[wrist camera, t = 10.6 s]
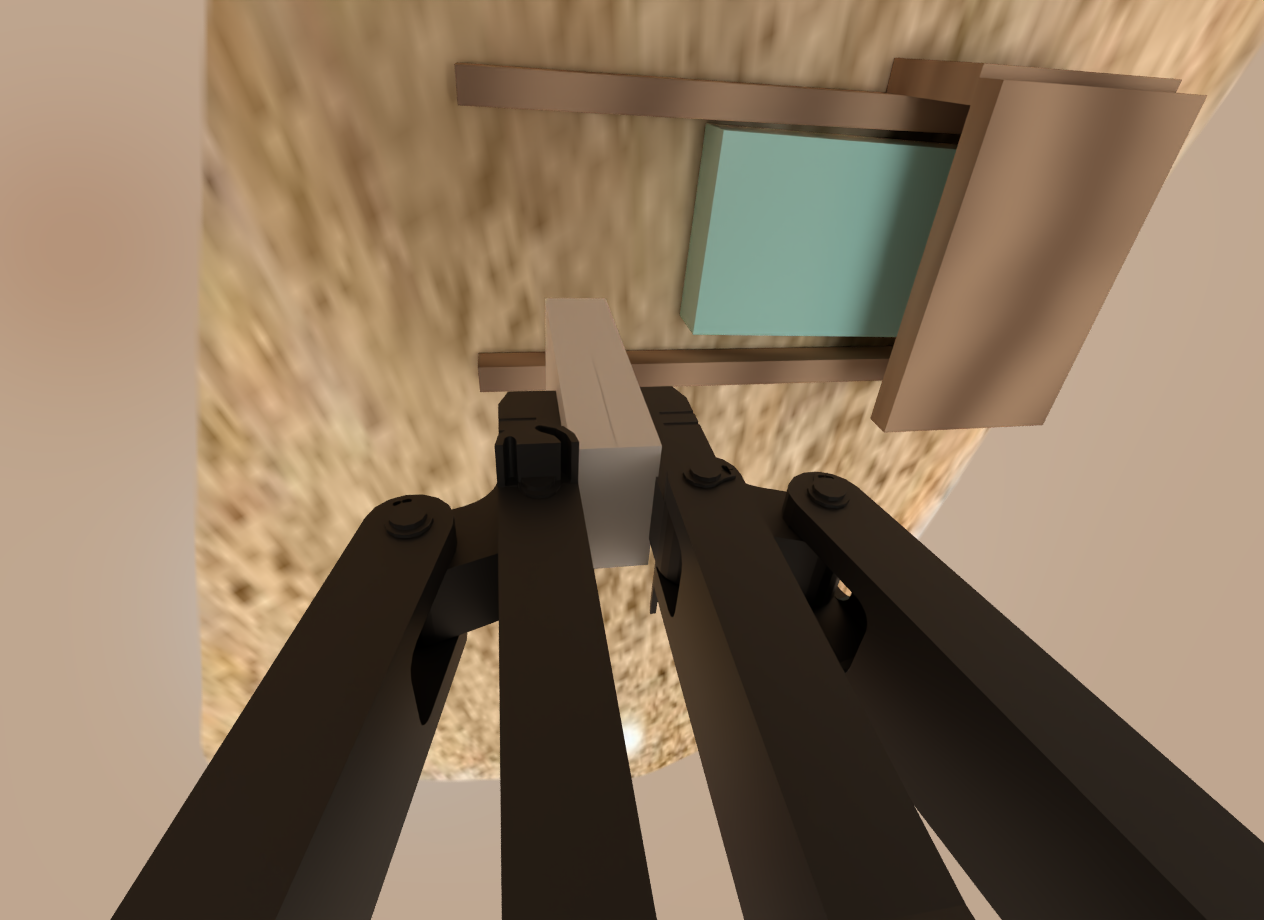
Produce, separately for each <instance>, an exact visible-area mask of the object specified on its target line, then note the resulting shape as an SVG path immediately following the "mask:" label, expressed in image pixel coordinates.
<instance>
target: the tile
mask: <svg viewBox="0 0 1264 920" xmlns="http://www.w3.org/2000/svg"><path fill="white" fill-rule="evenodd" d="M957 146H958V144H947V143H936V142H924V141H912V140H900V139H888V138H877V137H865V136H853V135H841V134H829V133H817V132H806V131H794V130H782V129H770V128H758V127H747V126H735V125H723V124H711V123H706V127H705V134H704V142H703V149H702V156H701V163H700V171H699V178H698V185H697V193H696V200H695V207H694V214H693V222H692V229H691V236H690V244H689V251H688V258H687V266H686V273H685V280H684V287H683V295H682V302H681V309H680V316H681V318H682V319H683V321H684V322H685V324H686V325H687V326H688V328H689V329H690V331H691V332H692V334H693V335H772V336H852V337H897V334H898V331H899V327H900V324H901V321H902V318H903V315H904V312H905V309H906V306H907V302H908V299H909V296H910V293H911V290H912V287H913V284H914V281H915V278H916V274H917V271H918V268H919V265H920V262H921V259H922V256H923V253H924V249H925V246H926V243H927V240H928V237H929V234H930V231H931V228H932V224H933V221H934V218H935V215H936V212H937V209H938V206H939V203H940V199H941V196H942V193H943V190H944V187H945V184H946V181H947V178H948V174H949V171H950V168H951V165H952V162H953V159H954V156H955V153H956V149H957Z"/></svg>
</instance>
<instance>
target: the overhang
mask: <svg viewBox="0 0 1264 920" xmlns="http://www.w3.org/2000/svg"><path fill="white" fill-rule="evenodd" d="M455 74H456V87H457V100H458V105H463V106H481V107H498V108H516V109H533V110H551V111H568V112H586V113H603V114H621V115H638V116H656V117H673V118H691V119H708V120H726V121H743V122H761V123H778V124H796V125H813V126H831V127H848V128H866V129H883V130H901V131H918V132H936V133H953V134H961V137H960V140H959V143H958V146H957V149H956V153H955V156H954V159H953V162H952V165H951V168H950V171H949V174H948V178H947V181H946V184H945V187H944V190H943V193H942V196H941V199H940V203H939V206H938V209H937V212H936V215H935V218H934V221H933V224H932V228H931V231H930V234H929V237H928V240H927V243H926V246H925V249H924V253H923V256H922V259H921V262H920V265H919V268H918V271H917V274H916V278H915V281H914V284H913V287H912V290H911V293H910V296H909V299H908V302H907V306H906V309H905V312H904V315H903V318H902V321H901V324H900V327H899V331H898V334H897V337H896V340H895V343H894V346H870V347H813V348H755V349H698V350H640V351H626V353H627V355H628V358H629V361H630V363H631V366H632V369H633V371H634V374H635V376H636V379H637V382H638V384H639V387H653V386H707V385H741V384H775V383H810V382H844V381H878V380H883V381H882V384H881V387H880V390H879V393H878V396H877V399H876V402H875V406H874V409H873V412H872V415H871V418H870V419H871V420H872V421H873V422H874V423H875V424H876V425H877V426H878V427H879V428H880V429H881V430H882V431H883V432H906V431H927V430H948V429H969V428H991V427H1011V426H1031V425H1032V426H1033V425H1043V423H1044V421H1045V419H1046V417H1047V415H1048V413H1049V411H1050V409H1051V407H1052V405H1053V403H1054V401H1055V399H1056V397H1057V395H1058V393H1059V391H1060V389H1061V387H1062V385H1063V383H1064V381H1065V379H1066V377H1067V375H1068V373H1069V371H1070V369H1071V367H1072V365H1073V363H1074V361H1075V359H1076V357H1077V355H1078V353H1079V351H1080V349H1081V347H1082V345H1083V343H1084V341H1085V339H1086V337H1087V335H1088V333H1089V331H1090V329H1091V327H1092V325H1093V323H1094V321H1095V319H1096V317H1097V315H1098V313H1099V311H1100V309H1101V307H1102V305H1103V303H1104V301H1105V299H1106V297H1107V295H1108V293H1109V291H1110V289H1111V287H1112V285H1113V283H1114V281H1115V279H1116V277H1117V275H1118V273H1119V271H1120V269H1121V267H1122V265H1123V263H1124V261H1125V259H1126V257H1127V255H1128V253H1129V251H1130V249H1131V247H1132V245H1133V243H1134V241H1135V239H1136V237H1137V235H1138V233H1139V231H1140V229H1141V227H1142V225H1143V223H1144V221H1145V219H1146V217H1147V215H1148V213H1149V211H1150V209H1151V207H1152V205H1153V203H1154V201H1155V199H1156V197H1157V195H1158V193H1159V191H1160V189H1161V187H1162V185H1163V183H1164V181H1165V179H1166V177H1167V175H1168V173H1169V171H1170V169H1171V167H1172V165H1173V163H1174V161H1175V159H1176V157H1177V155H1178V153H1179V151H1180V149H1181V147H1182V145H1183V143H1184V141H1185V139H1186V137H1187V135H1188V133H1189V131H1190V129H1191V127H1192V125H1193V123H1194V121H1195V119H1196V117H1197V115H1198V113H1199V111H1200V109H1201V107H1202V105H1203V103H1204V101H1205V99H1206V97H1207V95H1196V94H1184V93H1176V91H1177V89H1178V87H1179V85H1180V83H1181V81H1182V80H1180V79H1168V78H1156V77H1144V76H1132V75H1120V74H1108V73H1096V72H1084V71H1072V70H1060V69H1047V68H1035V67H1023V66H1011V65H999V64H987V63H972V62H955V61H938V60H922V59H905V58H895V59H894V63H893V67H892V71H891V75H890V79H889V83H888V87H887V91H886V93H883V92H869V91H854V90H840V89H826V88H811V87H797V86H783V85H769V84H754V83H740V82H726V81H711V80H697V79H683V78H668V77H654V76H640V75H625V74H611V73H597V72H582V71H568V70H554V69H539V68H525V67H511V66H497V65H482V64H468V63H456V64H455ZM478 371H479V384H480V392H500V391H535V390H546V352H525V353H479V356H478Z"/></svg>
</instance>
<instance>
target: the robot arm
mask: <svg viewBox="0 0 1264 920" xmlns="http://www.w3.org/2000/svg"><path fill="white" fill-rule="evenodd" d="M545 346H546V391H513V392H508V393H507V394H506V395H505V397H504V398H503V399H502V400H501V402H500V403H499V404H498V419H499V436H498V437H497V440H496V443H495V457H496V472H497V484H496V486H495V487H494V489H493V490H492V491H491V492H490V493H489V494H488V495H487V496H485V497H484V498H482V499H480V500H479V501H477V502H475V503H472V504H469V505H466V506H463V507H460V508H456V509H452V510H451V508H450V506H449V505H448V504H447V503H445V502H443V501H442V500H440V499H439V498H436V497H431V496H427V495H405V496H401V497H397V498H393V499H390V500H388V501H386V502H384V503H382V504H380V505H379V506H377V507H375V508H374V509H373V510H372V511H371V512H370V513H369V514H368V515H367V516H366V517H365V519H364V520H363V522H362V523H361V525H360V527H359V528H358V530H357V531H356V533H355V534H354V536H353V538H352V539H351V541H350V542H349V544H348V546H347V547H346V549H345V550H344V552H343V553H342V555H341V557H340V558H339V560H338V561H337V563H336V564H335V566H334V568H333V569H332V571H331V572H330V574H329V575H328V577H327V579H326V580H325V582H324V583H323V585H322V587H321V588H320V590H319V591H318V593H317V594H316V596H315V598H314V599H313V601H312V602H311V604H310V605H309V607H308V609H307V610H306V612H305V613H304V615H303V617H302V618H301V620H300V621H299V623H298V624H297V626H296V628H295V629H294V631H293V632H292V634H291V635H290V637H289V639H288V640H287V642H286V643H285V645H284V646H283V648H282V650H281V651H280V653H279V654H278V656H277V658H276V659H275V661H274V662H273V664H272V665H271V667H270V669H269V670H268V672H267V673H266V675H265V676H264V678H263V680H262V681H261V683H260V684H259V686H258V688H257V689H256V691H255V692H254V694H253V695H252V697H251V699H250V700H249V702H248V703H247V705H246V706H245V708H244V710H243V711H242V713H241V714H240V716H239V718H238V719H237V721H236V722H235V724H234V725H233V727H232V729H231V730H230V732H229V733H228V735H227V736H226V738H225V740H224V741H223V743H222V744H221V746H220V747H219V749H218V751H217V752H216V754H215V755H214V757H213V759H212V760H211V762H210V763H209V765H208V766H207V768H206V770H205V771H204V773H203V774H202V776H201V778H200V779H199V781H198V782H197V784H196V785H195V787H194V789H193V790H192V792H191V793H190V795H189V796H188V798H187V800H186V801H185V803H184V804H183V806H182V807H181V809H180V811H179V812H178V814H177V815H176V817H175V819H174V820H173V822H172V823H171V825H170V827H169V828H168V830H167V831H166V833H165V834H164V836H163V837H162V839H161V841H160V842H159V844H158V845H157V847H156V849H155V850H154V852H153V854H152V855H151V856H150V858H149V860H148V861H147V863H146V864H145V866H144V867H143V869H142V871H141V872H140V874H139V875H138V877H137V879H136V880H135V882H134V883H133V885H132V886H131V888H130V890H129V891H128V893H127V894H126V896H125V897H124V899H123V901H122V902H121V904H120V905H119V907H118V908H117V910H116V912H115V913H114V915H113V916H112V918H111V920H371V917H372V914H373V912H374V909H375V906H376V903H377V900H378V897H379V894H380V891H381V888H382V885H383V882H384V880H385V876H386V874H387V871H388V868H389V865H390V862H391V859H392V856H393V853H394V850H395V848H396V845H397V842H398V839H399V836H400V833H401V830H402V827H403V824H404V821H405V818H406V815H407V812H408V810H409V807H410V804H411V801H412V798H413V795H414V792H415V789H416V786H417V783H418V780H419V778H420V775H421V772H422V769H423V766H424V763H425V760H426V757H427V754H428V751H429V748H430V746H431V743H432V740H433V737H434V734H435V731H436V728H437V725H438V722H439V719H440V716H441V713H442V711H443V708H444V705H445V702H446V699H447V696H448V693H449V690H450V687H451V684H452V681H453V678H454V676H455V673H456V670H457V667H458V664H459V661H460V658H461V655H462V652H463V649H464V646H465V643H466V641H467V632H469V631H472V630H475V629H477V628H480V627H483V626H485V625H488V624H491V623H494V622H496V621H499V686H500V782H501V783H500V784H501V785H500V786H501V877H502V878H501V886H502V920H657V918H656V912H655V907H654V901H653V895H652V890H651V884H650V879H649V873H648V868H647V862H646V856H645V851H644V846H643V840H642V834H641V829H640V824H639V818H638V813H637V806H636V801H635V795H634V790H633V784H632V779H631V773H630V768H629V762H628V756H627V751H626V745H625V740H624V734H623V729H622V723H621V718H620V712H619V707H618V701H617V695H616V690H615V684H614V679H613V673H612V668H611V662H610V657H609V651H608V645H607V640H606V634H605V629H604V623H603V618H602V612H601V607H600V601H599V595H598V590H597V584H596V579H595V573H594V569H598V568H610V567H623V566H636V565H648V559H649V551H650V545H651V548H652V551H653V555H654V558H655V568H654V576H653V584H652V592H651V600H650V614H653V613H656V608H657V602H658V603H659V607H660V611H661V614H662V618H663V622H664V626H665V629H666V633H667V637H668V640H669V644H670V648H671V651H672V655H673V659H674V662H675V666H676V670H677V673H678V677H679V681H680V685H681V688H682V692H683V696H684V699H685V703H686V707H687V710H688V714H689V718H690V721H691V725H692V729H693V733H694V736H695V740H696V744H697V747H698V751H699V755H700V758H701V762H702V766H703V769H704V773H705V777H706V780H707V784H708V788H709V791H710V795H711V799H712V803H713V806H714V810H715V814H716V817H717V821H718V825H719V828H720V832H721V836H722V840H723V843H724V847H725V851H726V854H727V858H728V862H729V865H730V869H731V872H732V876H733V880H734V883H735V887H736V891H737V895H738V899H739V902H740V906H741V910H742V913H743V916H744V920H975V918H974V917H973V915H972V914H971V912H970V911H969V909H968V907H967V906H966V904H965V902H964V900H963V898H962V896H961V894H960V893H959V891H958V889H957V887H956V885H955V883H954V881H953V879H952V877H951V875H950V873H949V871H948V870H947V868H946V866H945V864H944V862H943V860H942V858H941V856H940V854H939V852H938V850H937V849H936V847H935V845H934V843H933V841H932V839H931V837H930V835H929V833H928V831H927V829H926V827H925V826H924V824H923V822H922V820H921V818H920V816H919V814H918V812H917V810H918V811H919V812H920V814H921V815H922V816H923V817H924V819H925V820H926V821H927V823H928V824H929V825H930V827H931V828H932V829H933V831H934V832H935V833H936V834H937V836H938V837H939V838H940V840H941V841H942V842H943V843H944V845H945V846H946V847H947V849H948V850H949V851H950V853H951V854H952V855H953V857H954V858H955V859H956V860H957V862H958V863H959V864H960V866H961V867H962V868H963V870H964V871H965V872H966V874H967V875H968V876H969V877H970V879H971V880H972V881H973V883H974V884H975V885H976V887H977V888H978V889H979V891H980V892H981V893H982V895H983V896H984V897H985V898H986V900H987V901H988V902H989V904H990V905H991V906H992V908H993V909H994V910H995V911H996V913H997V914H998V915H999V917H1000V918H1001V919H1002V920H1264V843H1263V842H1262V841H1261V840H1260V839H1259V838H1258V837H1257V836H1255V835H1254V834H1253V833H1252V832H1251V831H1250V830H1249V829H1247V828H1246V827H1245V826H1244V825H1243V824H1242V823H1241V822H1239V821H1238V820H1237V819H1236V818H1235V817H1234V816H1233V815H1231V814H1230V813H1229V812H1228V811H1227V810H1226V809H1225V808H1223V807H1222V806H1221V805H1220V804H1219V803H1218V802H1217V801H1215V800H1214V799H1213V798H1212V797H1211V796H1210V795H1209V794H1207V793H1206V792H1205V791H1204V790H1203V789H1202V788H1200V787H1199V786H1198V785H1197V784H1196V783H1195V782H1194V781H1193V780H1191V779H1190V778H1189V777H1188V776H1187V775H1186V774H1185V773H1184V772H1182V771H1181V770H1180V769H1179V768H1178V767H1177V766H1175V765H1174V764H1173V763H1172V762H1171V761H1169V759H1168V758H1166V757H1165V756H1164V755H1163V754H1162V753H1161V752H1160V751H1158V750H1157V749H1156V748H1155V747H1154V746H1153V745H1152V744H1150V743H1149V742H1148V741H1147V740H1146V739H1145V738H1143V737H1142V736H1141V735H1140V734H1139V733H1138V732H1137V731H1136V730H1134V729H1133V728H1132V727H1131V726H1130V725H1129V724H1128V723H1126V722H1125V721H1124V720H1123V719H1122V718H1121V717H1119V716H1118V715H1117V714H1116V713H1115V712H1114V711H1113V710H1112V709H1110V708H1109V707H1108V706H1107V705H1106V704H1105V703H1104V702H1102V701H1101V700H1100V699H1099V698H1098V697H1097V696H1096V695H1094V694H1093V693H1092V692H1091V691H1090V690H1089V689H1087V688H1086V687H1085V686H1084V685H1083V684H1082V683H1081V682H1080V681H1078V680H1077V679H1076V678H1075V677H1074V676H1073V675H1072V674H1070V673H1069V672H1068V671H1067V670H1066V669H1064V668H1063V667H1062V666H1061V665H1060V664H1059V663H1058V662H1057V661H1055V660H1054V659H1053V658H1052V657H1051V656H1050V655H1049V654H1048V653H1046V652H1045V651H1044V650H1043V649H1042V648H1041V647H1040V646H1038V645H1037V644H1036V643H1035V642H1034V641H1033V640H1032V639H1030V638H1029V637H1028V636H1027V635H1026V634H1025V633H1024V632H1022V631H1021V630H1020V629H1019V628H1018V627H1017V626H1016V625H1014V624H1013V623H1012V622H1011V621H1010V620H1009V619H1008V618H1006V617H1005V616H1004V615H1003V614H1002V613H1001V612H1000V611H998V610H997V609H996V608H995V607H994V606H993V605H991V603H989V602H988V601H987V600H986V599H985V598H984V597H983V596H981V595H980V594H979V593H978V592H977V591H976V590H975V589H973V588H972V587H971V586H970V585H969V584H967V582H965V581H964V580H963V579H962V578H961V577H960V576H958V575H957V574H956V573H955V572H954V571H953V570H952V569H950V568H949V567H948V566H947V565H946V564H945V563H944V562H943V561H941V560H940V559H939V558H938V557H937V556H935V554H933V553H932V552H931V551H930V550H929V549H928V548H927V547H925V546H924V545H923V544H922V543H921V542H920V541H919V540H917V539H916V538H915V537H914V536H913V535H912V534H911V533H909V532H908V531H907V530H906V529H905V528H904V527H903V526H901V525H900V524H899V523H898V522H897V521H896V520H895V519H893V518H892V517H891V516H890V515H889V514H888V513H887V512H885V511H884V510H883V509H882V508H881V507H880V506H879V505H877V504H876V503H875V502H874V501H873V500H872V499H871V498H869V497H868V496H867V495H866V494H865V493H864V492H863V491H861V490H860V489H859V488H858V487H857V486H855V485H854V484H852V483H851V482H849V481H848V480H846V479H844V478H841V477H838V476H836V475H833V474H829V473H822V472H807V473H802V474H800V475H798V476H795V477H794V478H793V479H792V480H791V482H790V483H789V485H788V489H787V492H785V491H779V490H773V489H767V488H761V487H756V486H752V485H749V484H746V483H745V481H744V479H743V477H742V476H741V474H740V473H739V472H738V470H737V469H736V468H735V467H734V466H733V465H731V464H730V463H728V462H726V461H725V460H723V459H720V458H716V457H715V455H714V453H713V451H712V449H711V447H710V445H709V443H708V441H707V438H706V436H705V434H704V432H703V430H702V428H701V426H700V424H698V420H697V418H696V416H695V414H693V410H692V408H691V406H690V404H689V402H688V400H687V398H686V397H685V396H684V395H682V394H681V393H680V392H679V391H677V390H676V389H675V388H673V387H672V386H653V387H639V384H638V382H637V379H636V376H635V374H634V371H633V369H632V366H631V363H630V361H629V358H628V355H627V353H626V350H625V348H624V345H623V342H622V340H621V337H620V335H619V332H618V329H617V327H616V324H615V321H614V319H613V316H612V314H611V311H610V308H609V306H608V303H607V300H606V298H545ZM840 580H841V581H842V582H843V583H844V584H845V586H846V587H847V588H848V589H849V590H850V591H851V592H852V594H851V596H850V597H849V596H847V595H846V594H844V593H843V592H842V591H841V590H840V589H839V587H838V583H839V581H840ZM915 807H916V808H917V810H916V808H915Z"/></svg>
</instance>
